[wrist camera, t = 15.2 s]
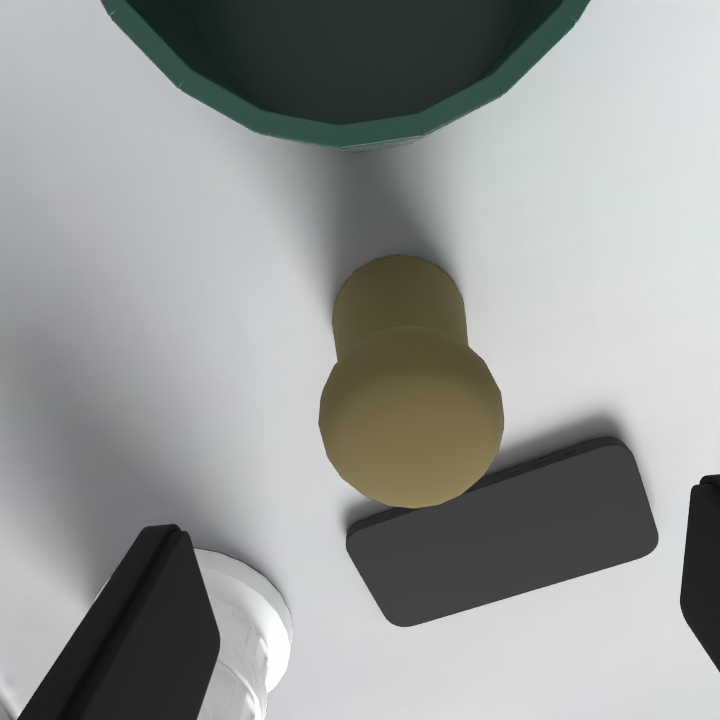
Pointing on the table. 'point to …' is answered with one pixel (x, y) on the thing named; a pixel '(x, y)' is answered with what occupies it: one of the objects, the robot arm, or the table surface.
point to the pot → (345, 60)
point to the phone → (507, 534)
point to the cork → (407, 388)
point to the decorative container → (243, 638)
